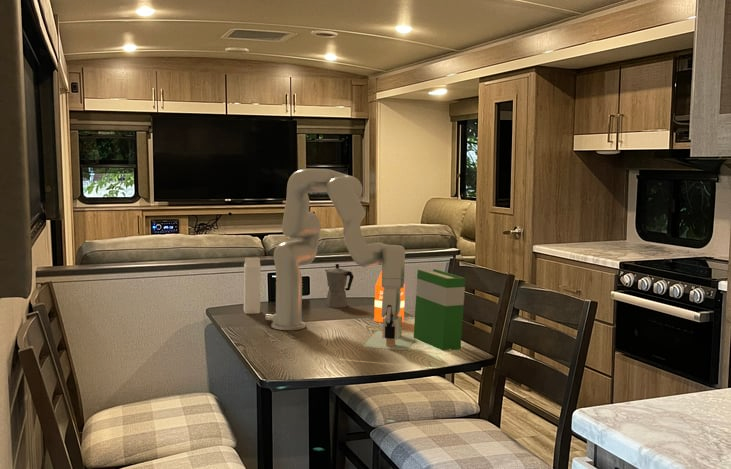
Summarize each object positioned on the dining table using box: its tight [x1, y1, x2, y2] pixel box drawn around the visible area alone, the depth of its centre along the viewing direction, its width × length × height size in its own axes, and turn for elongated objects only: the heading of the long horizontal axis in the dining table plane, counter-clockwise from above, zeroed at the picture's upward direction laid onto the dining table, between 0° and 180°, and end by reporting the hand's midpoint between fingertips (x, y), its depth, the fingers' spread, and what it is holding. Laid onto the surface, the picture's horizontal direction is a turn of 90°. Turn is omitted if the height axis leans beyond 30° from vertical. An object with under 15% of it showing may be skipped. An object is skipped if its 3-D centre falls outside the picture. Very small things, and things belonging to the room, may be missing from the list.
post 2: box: [400, 316, 403, 337], centre depth 239 cm, size 3×3×7 cm
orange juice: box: [373, 270, 406, 323], centre depth 261 cm, size 8×9×20 cm
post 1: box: [386, 339, 395, 347], centre depth 227 cm, size 3×3×7 cm
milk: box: [243, 257, 262, 314], centre depth 272 cm, size 6×6×22 cm
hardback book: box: [413, 269, 466, 351], centre depth 231 cm, size 18×7×24 cm, turn 28°
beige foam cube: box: [381, 316, 401, 339], centre depth 226 cm, size 5×5×7 cm
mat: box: [362, 330, 416, 351], centre depth 233 cm, size 15×22×1 cm
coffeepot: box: [325, 263, 354, 309], centre depth 288 cm, size 15×9×18 cm, turn 51°
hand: (391, 335), depth 226 cm, fingers closed on beige foam cube, 5 cm apart
